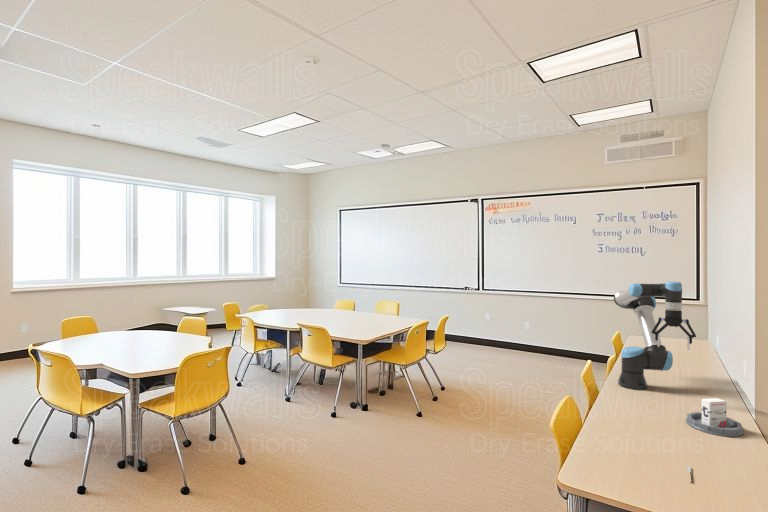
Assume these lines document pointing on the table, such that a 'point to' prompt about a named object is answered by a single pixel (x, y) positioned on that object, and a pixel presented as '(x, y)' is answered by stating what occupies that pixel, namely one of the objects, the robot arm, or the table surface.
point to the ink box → (714, 412)
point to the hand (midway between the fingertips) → (673, 348)
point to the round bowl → (729, 430)
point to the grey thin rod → (689, 468)
